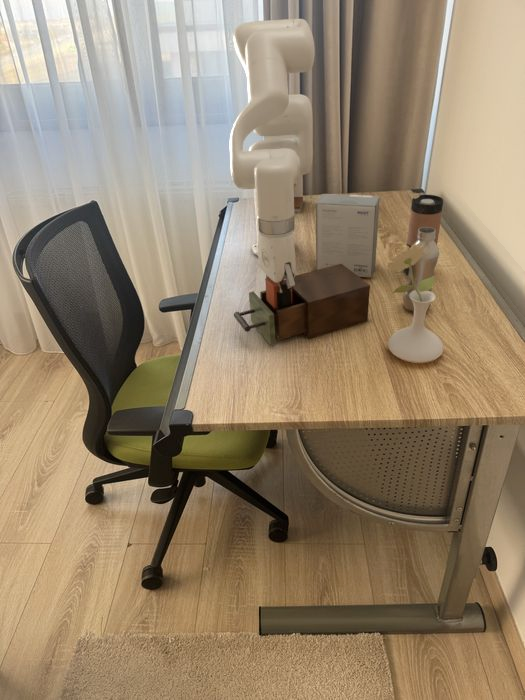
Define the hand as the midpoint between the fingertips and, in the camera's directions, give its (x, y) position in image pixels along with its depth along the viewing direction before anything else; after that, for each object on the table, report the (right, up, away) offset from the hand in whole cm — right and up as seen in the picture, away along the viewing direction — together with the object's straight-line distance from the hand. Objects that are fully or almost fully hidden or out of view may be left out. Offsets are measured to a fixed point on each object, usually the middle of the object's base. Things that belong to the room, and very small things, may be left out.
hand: (279, 300), depth 114 cm
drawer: (0, -6, +4) cm, 7 cm away
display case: (+5, +40, +70) cm, 81 cm away
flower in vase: (+28, -12, -5) cm, 31 cm away
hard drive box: (+19, +11, +28) cm, 36 cm away
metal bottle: (+33, -1, +9) cm, 34 cm away
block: (0, 0, 0) cm, 0 cm away
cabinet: (+11, -3, +8) cm, 14 cm away
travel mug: (+38, +10, +24) cm, 46 cm away
